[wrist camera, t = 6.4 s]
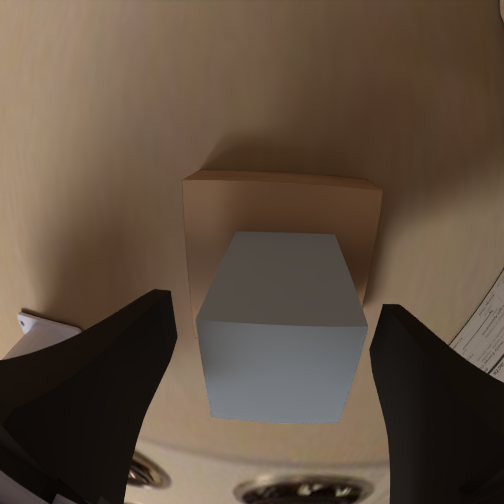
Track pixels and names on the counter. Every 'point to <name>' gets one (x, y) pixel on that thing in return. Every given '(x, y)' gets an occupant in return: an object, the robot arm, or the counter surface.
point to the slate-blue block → (281, 330)
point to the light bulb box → (485, 334)
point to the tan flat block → (275, 218)
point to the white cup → (502, 9)
